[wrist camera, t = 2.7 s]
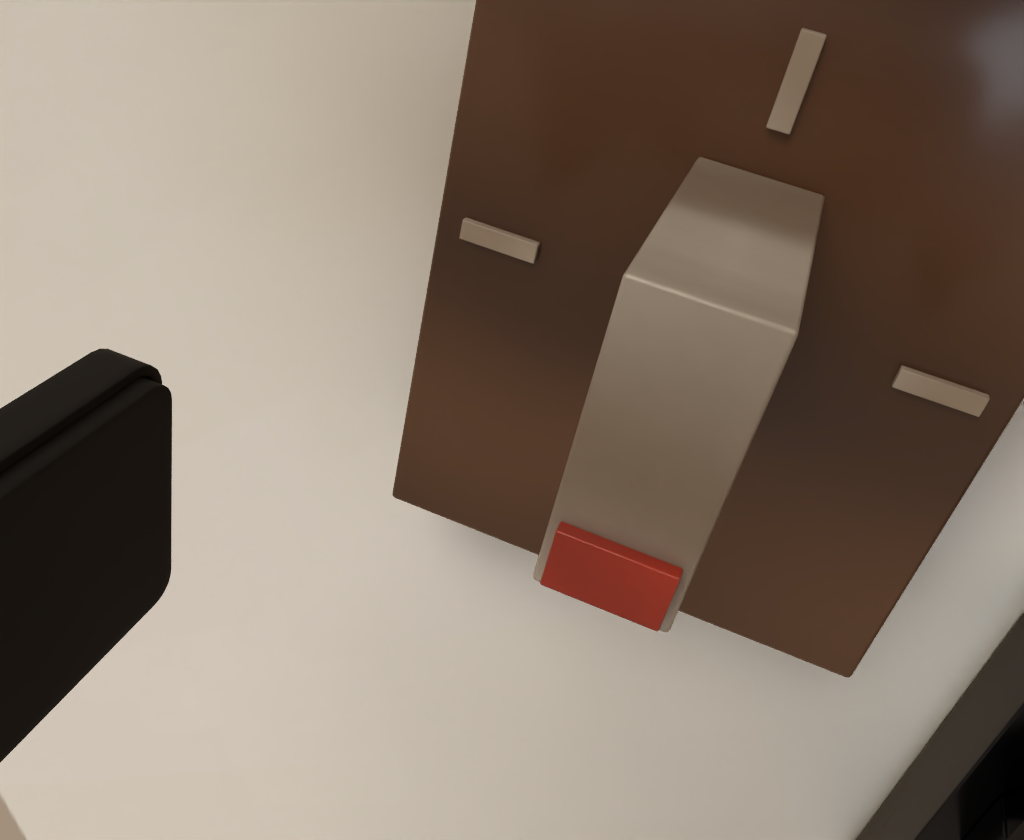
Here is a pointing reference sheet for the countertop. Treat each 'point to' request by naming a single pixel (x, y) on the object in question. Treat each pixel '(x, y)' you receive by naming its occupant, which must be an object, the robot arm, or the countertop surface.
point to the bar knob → (680, 390)
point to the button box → (967, 763)
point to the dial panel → (829, 298)
